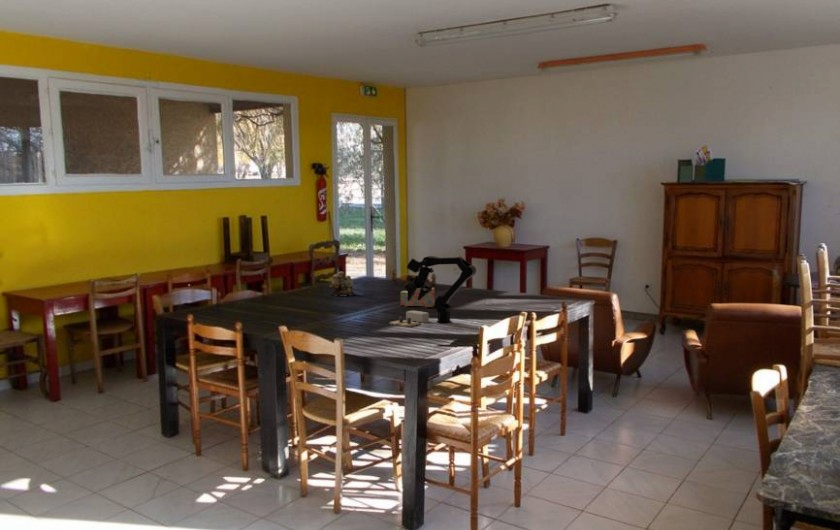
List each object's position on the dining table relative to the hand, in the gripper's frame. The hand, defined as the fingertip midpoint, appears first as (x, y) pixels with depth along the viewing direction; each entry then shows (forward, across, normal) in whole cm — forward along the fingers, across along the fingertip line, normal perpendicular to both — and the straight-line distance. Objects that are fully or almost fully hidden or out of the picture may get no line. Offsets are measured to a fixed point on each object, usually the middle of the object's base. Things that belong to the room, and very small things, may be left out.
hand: (413, 300), depth 413 cm
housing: (+9, -1, +8) cm, 12 cm away
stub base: (+10, +11, +9) cm, 18 cm away
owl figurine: (+43, -36, -85) cm, 102 cm away
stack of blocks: (+17, -37, -22) cm, 46 cm away
